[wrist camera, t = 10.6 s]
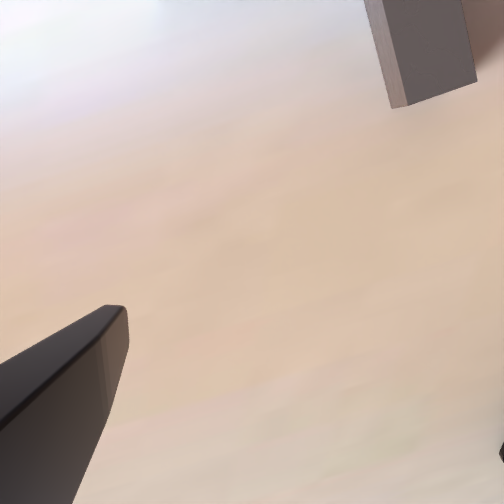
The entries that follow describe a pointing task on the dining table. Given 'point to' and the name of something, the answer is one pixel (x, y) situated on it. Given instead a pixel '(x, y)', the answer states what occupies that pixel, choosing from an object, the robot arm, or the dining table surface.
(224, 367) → the dining table surface
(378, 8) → the rail
